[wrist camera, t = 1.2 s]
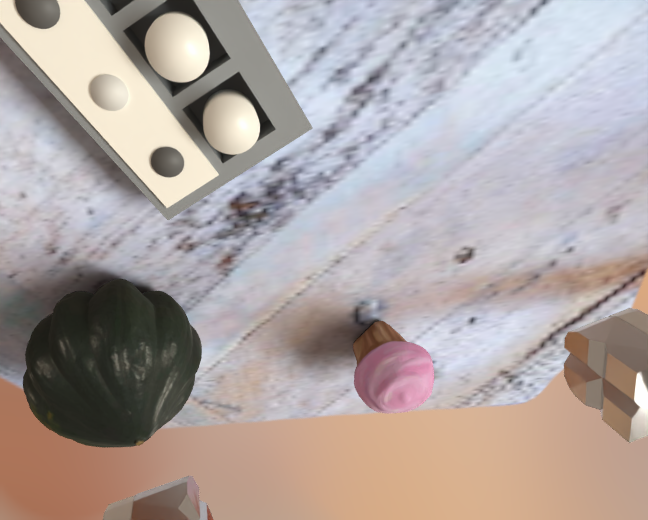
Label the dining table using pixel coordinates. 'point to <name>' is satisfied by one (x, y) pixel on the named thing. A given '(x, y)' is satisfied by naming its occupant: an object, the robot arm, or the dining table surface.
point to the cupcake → (391, 370)
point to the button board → (153, 88)
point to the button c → (230, 122)
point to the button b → (177, 46)
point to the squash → (111, 365)
